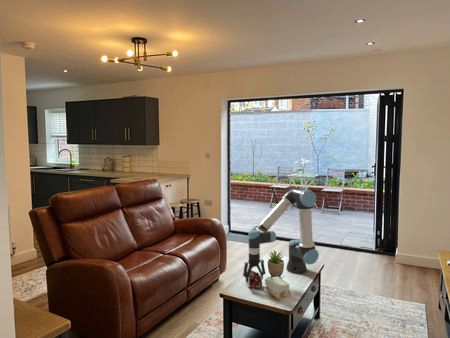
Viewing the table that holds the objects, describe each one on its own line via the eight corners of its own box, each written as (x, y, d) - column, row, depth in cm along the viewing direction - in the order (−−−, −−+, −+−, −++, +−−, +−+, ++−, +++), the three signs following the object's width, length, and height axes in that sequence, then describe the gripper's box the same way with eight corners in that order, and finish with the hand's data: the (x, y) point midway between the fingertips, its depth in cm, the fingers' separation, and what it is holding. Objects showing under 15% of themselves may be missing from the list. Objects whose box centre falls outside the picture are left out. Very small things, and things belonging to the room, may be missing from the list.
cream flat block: (278, 281, 237) (278, 276, 237) (289, 290, 224) (289, 284, 224) (265, 284, 234) (265, 278, 233) (275, 293, 221) (275, 287, 220)
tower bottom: (279, 287, 238) (279, 282, 237) (289, 296, 224) (290, 290, 224) (266, 290, 234) (266, 284, 234) (276, 299, 221) (276, 293, 221)
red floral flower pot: (257, 290, 232) (257, 275, 231) (244, 285, 241) (244, 270, 240) (264, 287, 237) (264, 272, 236) (251, 282, 246) (251, 267, 245)
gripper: (265, 249, 244) (265, 280, 246) (237, 253, 237) (237, 285, 239) (270, 252, 237) (270, 284, 239) (241, 256, 230) (242, 289, 232)
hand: (254, 285), depth 239 cm, fingers closed on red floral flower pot, 8 cm apart
